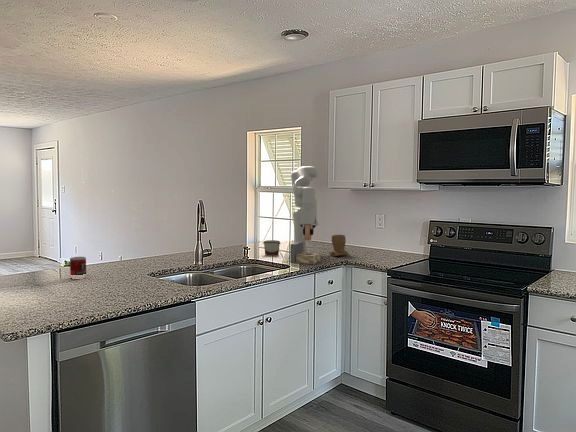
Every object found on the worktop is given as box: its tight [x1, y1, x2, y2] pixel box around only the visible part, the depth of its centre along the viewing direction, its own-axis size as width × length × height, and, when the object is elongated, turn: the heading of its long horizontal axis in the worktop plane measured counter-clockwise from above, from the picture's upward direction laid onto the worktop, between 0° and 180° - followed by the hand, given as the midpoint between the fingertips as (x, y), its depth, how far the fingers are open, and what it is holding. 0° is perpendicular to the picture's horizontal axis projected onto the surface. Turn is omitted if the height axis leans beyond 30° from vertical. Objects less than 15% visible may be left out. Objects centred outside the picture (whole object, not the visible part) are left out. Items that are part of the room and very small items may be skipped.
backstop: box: [289, 242, 303, 264], centre depth 291 cm, size 14×3×12 cm, turn 155°
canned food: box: [69, 256, 87, 275], centre depth 237 cm, size 8×8×11 cm
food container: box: [262, 239, 281, 256], centre depth 318 cm, size 12×6×10 cm, turn 84°
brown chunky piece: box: [329, 234, 350, 257], centre depth 316 cm, size 15×12×15 cm
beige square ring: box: [295, 252, 321, 265], centre depth 288 cm, size 12×12×5 cm
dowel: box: [305, 224, 312, 241], centre depth 287 cm, size 4×4×12 cm
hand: (308, 234), depth 287 cm, fingers closed on dowel, 4 cm apart
